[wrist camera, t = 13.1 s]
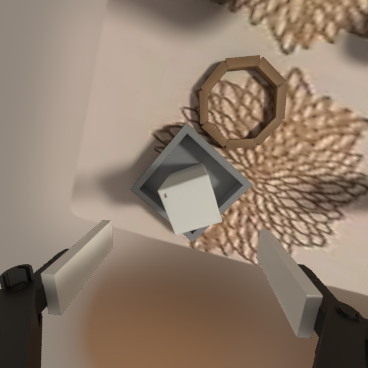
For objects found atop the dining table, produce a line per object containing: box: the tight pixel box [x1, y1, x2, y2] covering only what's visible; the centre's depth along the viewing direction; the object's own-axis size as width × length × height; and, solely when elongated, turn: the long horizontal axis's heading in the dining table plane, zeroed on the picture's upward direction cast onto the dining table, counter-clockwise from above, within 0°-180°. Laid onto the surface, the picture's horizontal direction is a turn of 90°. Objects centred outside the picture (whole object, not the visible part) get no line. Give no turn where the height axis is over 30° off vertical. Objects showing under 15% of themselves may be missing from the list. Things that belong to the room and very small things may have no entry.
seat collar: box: [199, 55, 287, 148], centre depth 33 cm, size 15×15×2 cm
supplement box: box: [158, 163, 222, 235], centre depth 31 cm, size 7×7×13 cm
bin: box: [130, 123, 252, 242], centre depth 35 cm, size 16×16×4 cm
